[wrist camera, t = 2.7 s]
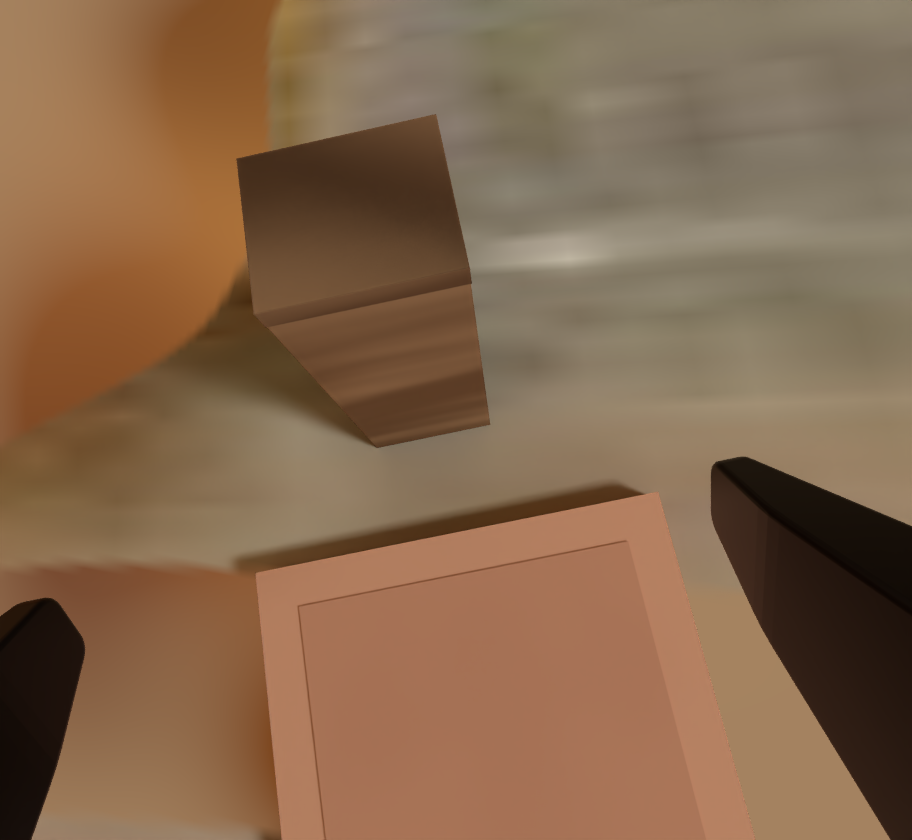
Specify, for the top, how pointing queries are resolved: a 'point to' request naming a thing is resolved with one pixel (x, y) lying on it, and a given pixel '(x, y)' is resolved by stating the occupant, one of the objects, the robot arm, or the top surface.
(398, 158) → the walnut block
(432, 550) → the trivet
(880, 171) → the top surface
